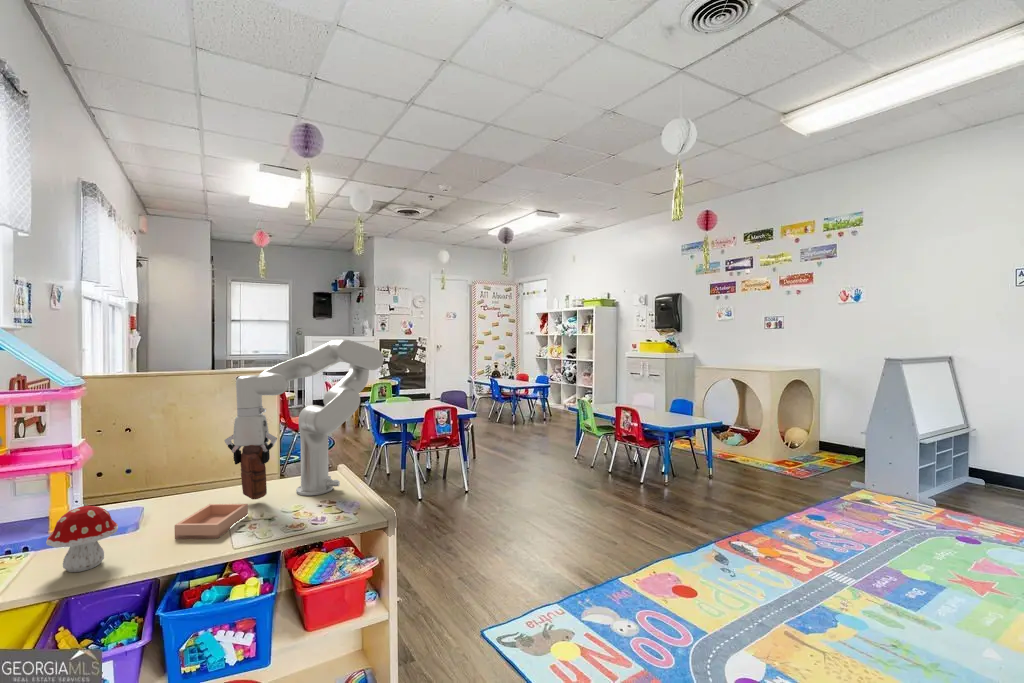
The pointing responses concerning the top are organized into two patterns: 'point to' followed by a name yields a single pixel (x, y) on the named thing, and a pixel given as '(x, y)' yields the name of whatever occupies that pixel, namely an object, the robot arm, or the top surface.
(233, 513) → the tray
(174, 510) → the top surface
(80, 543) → the decorative mushroom
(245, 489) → the wooden figurine
